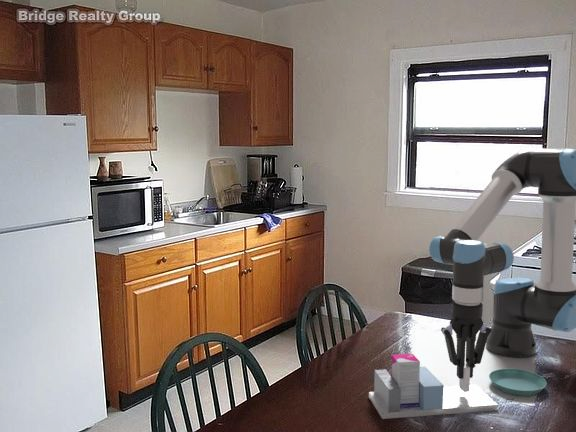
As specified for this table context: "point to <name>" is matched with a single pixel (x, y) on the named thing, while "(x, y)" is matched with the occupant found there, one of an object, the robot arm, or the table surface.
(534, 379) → the saucer
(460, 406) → the base
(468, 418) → the table surface
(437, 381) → the block
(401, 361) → the supplement box
